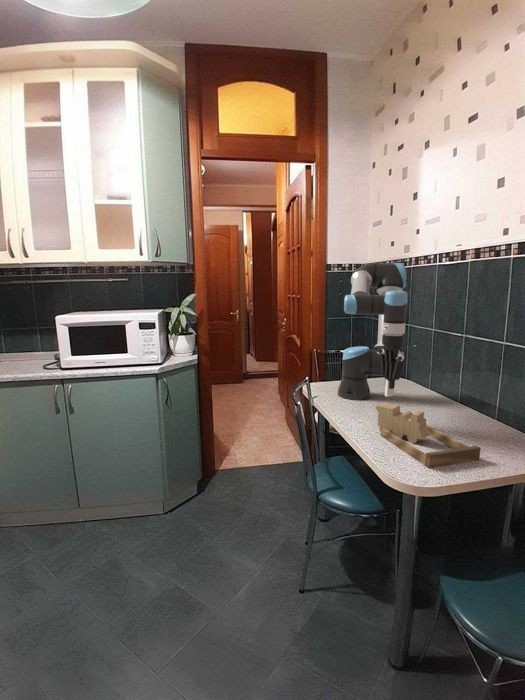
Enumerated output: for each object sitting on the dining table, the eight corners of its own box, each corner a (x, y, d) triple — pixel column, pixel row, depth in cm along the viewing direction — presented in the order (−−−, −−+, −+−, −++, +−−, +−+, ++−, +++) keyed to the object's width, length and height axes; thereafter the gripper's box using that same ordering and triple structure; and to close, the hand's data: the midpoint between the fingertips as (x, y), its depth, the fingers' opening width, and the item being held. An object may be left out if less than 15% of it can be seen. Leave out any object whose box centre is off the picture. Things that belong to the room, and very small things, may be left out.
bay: (380, 435, 122) (380, 424, 121) (423, 429, 126) (424, 419, 126) (428, 468, 99) (429, 455, 99) (479, 460, 104) (480, 447, 103)
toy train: (422, 446, 113) (425, 417, 111) (374, 431, 125) (375, 404, 123) (429, 441, 117) (431, 413, 115) (381, 427, 129) (383, 401, 127)
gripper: (374, 331, 132) (370, 391, 137) (395, 337, 119) (390, 402, 124) (391, 331, 134) (387, 389, 139) (414, 336, 121) (408, 400, 126)
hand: (388, 395), depth 131 cm, fingers closed
